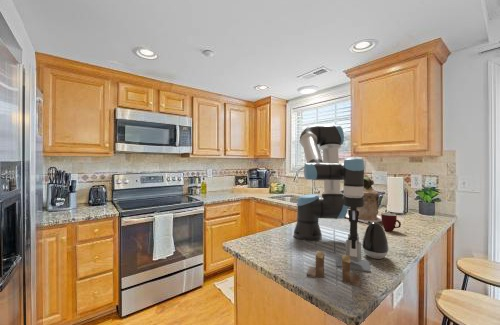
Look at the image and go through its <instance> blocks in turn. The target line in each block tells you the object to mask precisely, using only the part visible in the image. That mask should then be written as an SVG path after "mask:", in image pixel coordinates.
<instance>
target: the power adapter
mask: <svg viewBox="0 0 500 325" xmlns="http://www.w3.org/2000/svg"><path fill="white" fill-rule="evenodd" d="M347 238H350V233H348V234H347ZM357 238H358V239H357V257H354V256H350V240H348V239H345V255H349V256H350V260H353V261H356V262H359V261H361V260H362V242H361V241H360V237H359V235H358V236H357Z"/></svg>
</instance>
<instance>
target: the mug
mask: <svg viewBox="0 0 500 325" xmlns="http://www.w3.org/2000/svg"><path fill="white" fill-rule="evenodd" d="M380 216H381V219H382V222H381V223H382V225H381V226H382V227H383V229H384V231H386V232H393V231H394V229H398V228H400V227H402V224H401V221H400V220H399V219H397V214H395V213H391V212H389V213H388V212H381V214H380ZM397 223H398V226H396V224H397Z"/></svg>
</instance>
